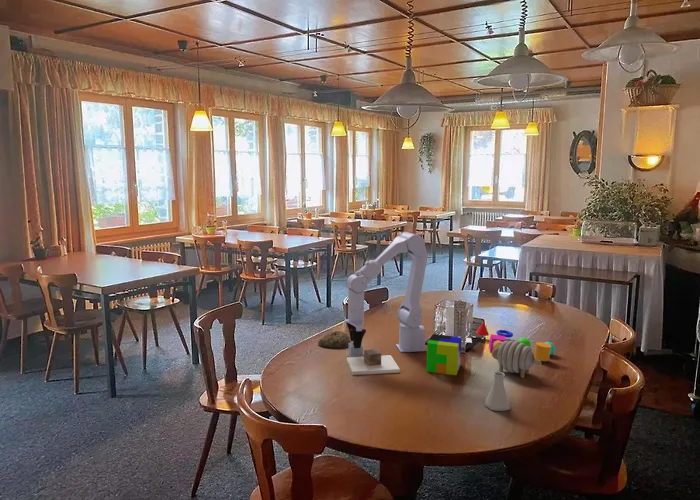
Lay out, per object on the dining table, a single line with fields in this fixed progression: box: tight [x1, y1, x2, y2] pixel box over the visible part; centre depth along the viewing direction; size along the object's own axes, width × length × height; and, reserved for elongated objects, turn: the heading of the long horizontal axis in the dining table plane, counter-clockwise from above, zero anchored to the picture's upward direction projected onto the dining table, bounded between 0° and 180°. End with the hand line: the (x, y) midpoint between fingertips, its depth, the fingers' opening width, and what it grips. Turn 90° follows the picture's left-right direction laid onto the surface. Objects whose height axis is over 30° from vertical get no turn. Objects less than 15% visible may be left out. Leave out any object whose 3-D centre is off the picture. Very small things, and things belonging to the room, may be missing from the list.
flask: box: [484, 371, 511, 412], centre depth 152 cm, size 7×7×10 cm
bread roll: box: [317, 330, 352, 349], centre depth 205 cm, size 13×12×5 cm
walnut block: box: [363, 348, 382, 366], centre depth 182 cm, size 4×4×4 cm
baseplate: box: [346, 354, 401, 376], centre depth 182 cm, size 16×13×1 cm
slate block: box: [347, 342, 364, 357], centre depth 192 cm, size 4×4×4 cm
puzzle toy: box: [425, 333, 462, 376], centre depth 180 cm, size 10×10×10 cm
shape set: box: [464, 321, 556, 362], centre depth 199 cm, size 29×35×7 cm
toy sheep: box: [491, 340, 543, 379], centre depth 176 cm, size 11×17×11 cm, turn 55°
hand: (355, 344), depth 192 cm, fingers open, 7 cm apart
